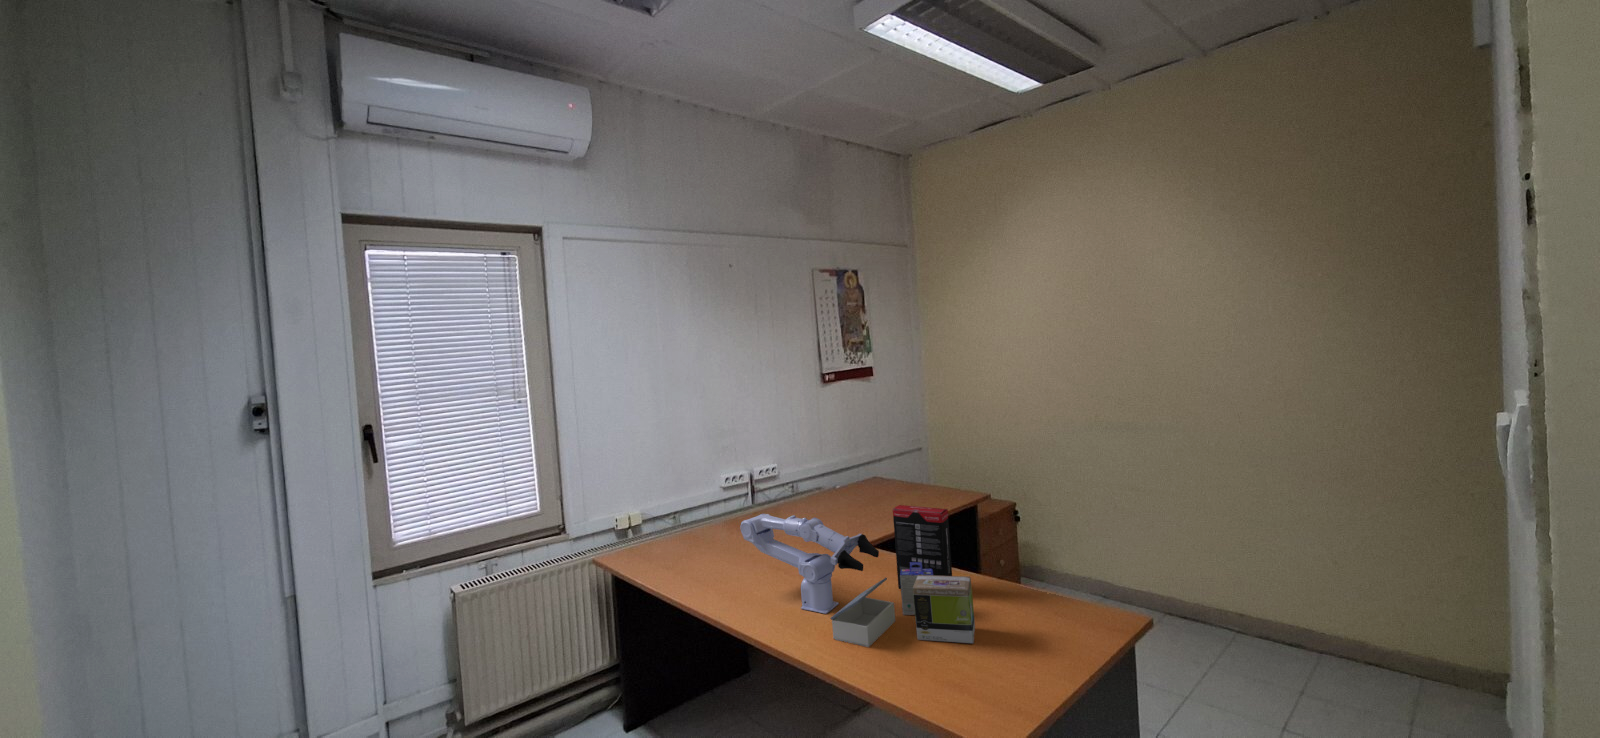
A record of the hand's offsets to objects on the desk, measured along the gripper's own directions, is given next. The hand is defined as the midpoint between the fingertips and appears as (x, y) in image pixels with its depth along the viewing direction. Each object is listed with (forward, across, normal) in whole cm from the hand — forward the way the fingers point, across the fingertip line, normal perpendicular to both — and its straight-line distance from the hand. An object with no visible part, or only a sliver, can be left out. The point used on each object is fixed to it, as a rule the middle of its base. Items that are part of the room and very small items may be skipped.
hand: (870, 560), depth 175 cm
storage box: (+5, -10, +16) cm, 19 cm away
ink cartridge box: (+12, +8, +18) cm, 23 cm away
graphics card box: (+7, +22, +23) cm, 33 cm away
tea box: (+25, +1, +12) cm, 28 cm away
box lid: (+2, -8, +8) cm, 11 cm away
